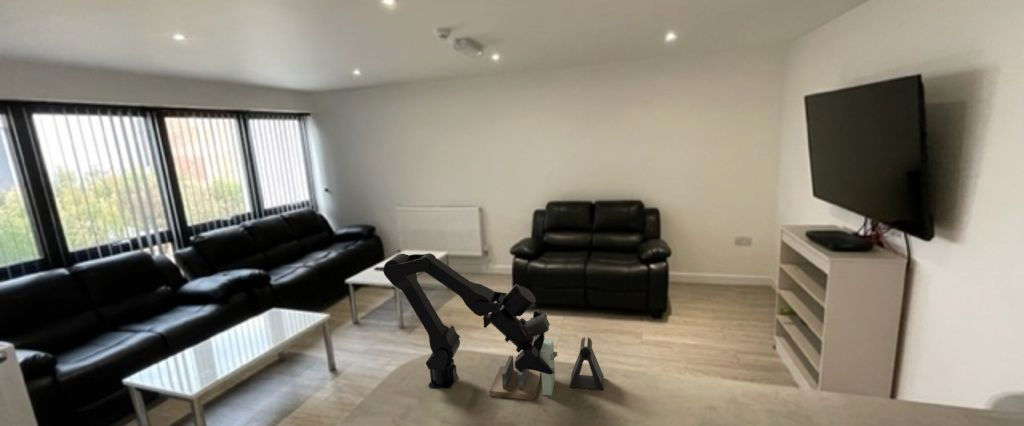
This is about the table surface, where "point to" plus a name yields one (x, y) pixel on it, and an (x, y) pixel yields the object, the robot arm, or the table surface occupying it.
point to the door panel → (548, 357)
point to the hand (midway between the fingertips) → (553, 365)
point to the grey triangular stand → (585, 380)
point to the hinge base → (515, 382)
